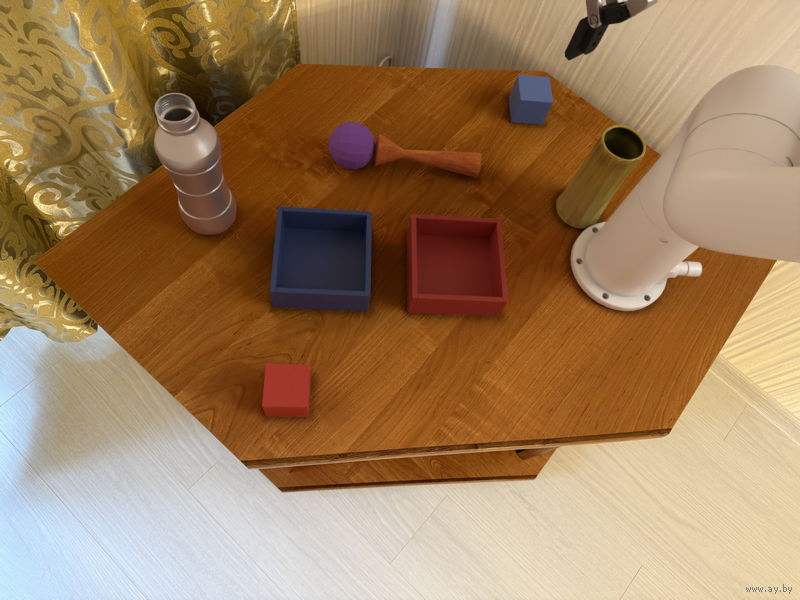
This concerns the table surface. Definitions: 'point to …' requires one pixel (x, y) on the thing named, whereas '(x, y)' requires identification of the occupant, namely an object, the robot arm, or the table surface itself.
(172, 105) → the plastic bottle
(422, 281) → the red bin
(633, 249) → the robot arm
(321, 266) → the blue bin
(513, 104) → the blue block
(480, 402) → the table surface
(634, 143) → the vase
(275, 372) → the red block
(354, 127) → the kendama
